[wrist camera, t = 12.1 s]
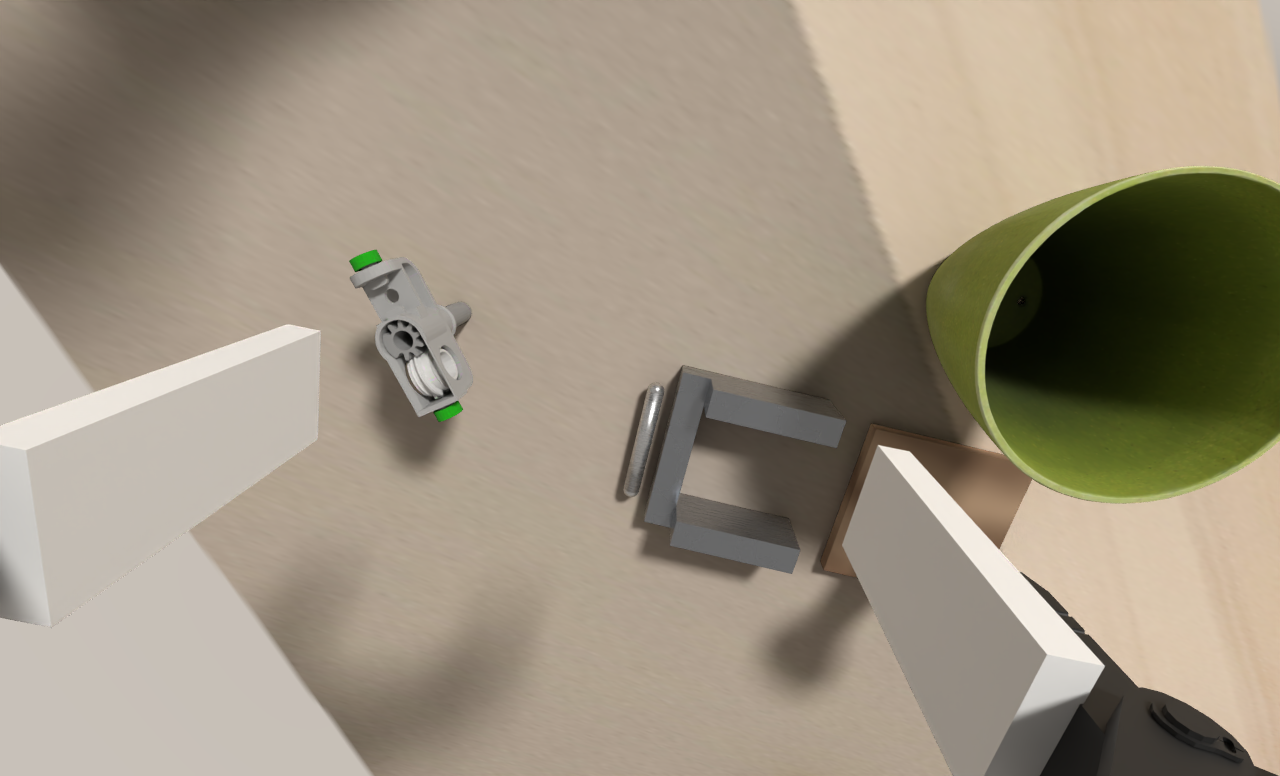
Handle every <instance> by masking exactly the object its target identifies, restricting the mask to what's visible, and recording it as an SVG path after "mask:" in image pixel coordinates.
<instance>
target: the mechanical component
mask: <svg viewBox="0 0 1280 776" xmlns="http://www.w3.org/2000/svg"><path fill="white" fill-rule="evenodd" d="M381 261H382V259H381V257H380V255H379V253H378V252H377V250H372V251H369V252H366V253H363V254H361V255H359V256H357V257H354V258H353V259H351V260H350V261H349V262H350V263H351V265H352V267H353V269H354V271H355V272H358V271H360V272H358V273H356V274H354V275H353V276H351V277H350V280H351V281H352V283H353V285H354V287H355V288H360V287H363V289H364V291H365V293H366V294H367V296H368V298H369V300H370V301H371V303H372V305H373V307H374V309H375V310H376V312H377V314H378V316H379V318H380V319H381V321H382V323H380V324H378V325H376V326H377V327H378V328H377V330H376V333H375V342H376V346H377V349H378V351H379V353H380V354H381V356H382V357H383V358H384V359H385V360H386V361H387V362H388V364H389V366H390V367H391V369H392V371H393V373H394V375H395V376H396V378H397V380H398V382H399V383H400V385H401V387H402V389H403V391H404V392H405V394H406V396H407V398H408V399H409V401H410V403H411V405H412V406H413V408H414V410H415V412H416V414H417V415H418V417H421V416H423V415H425V414H428V413H430V412H432V411H434V414H435V416H436V418H437V420H438V422H441V421H444V420H447V419H449V418H451V417H453V416H455V415H457V414H458V413H460V412H461V411H462V410H463V408H462V407H461V405H460V403H459V401H458V400H459V399H460V398H461V397H463V396H464V395H465V394H466V393H467V389H468V388H469V387H470V386H471V385H472V383H473V376H472V372H471V369H470V366H469V364H468V362H467V360H466V358H465V357H464V355H463V353H462V351H461V349H460V347H459V345H458V343H457V341H456V340H455V338H454V334H455V332H456V327H458V326H460V325H462V324H463V323H464V322H466V321H468V320H469V319H470V317H471V309H470V307H469V305H467V304H466V303H464V302H457V303H454V304H450V305H448V306H446V307H444V306H442V305H438V304H436V302H435V300H434V298H433V296H432V294H431V292H430V290H429V288H428V287H427V285H426V283H425V281H424V279H423V277H422V275H421V273H420V272H419V270H418V269H417V267H416V266H415V265H414V264H413V263H412V262H411V261H410V260H409V259H407V258H405V257H400V258H395V259H390V260H387V261H384V262H381ZM380 262H381V263H380ZM406 362H407V367H408V372H409V376H410V378H411V381H412V382H413V384H414V385H415V387H416V388H417V389H418V390H419V391H420V392H421V393H422V394H424V395H421V394H419V393H417V392H416V391H415V390H414V389H413V387H412V386H411V385H410V383H409V381H408V379H407V376H406V372H405V365H406Z"/></svg>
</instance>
